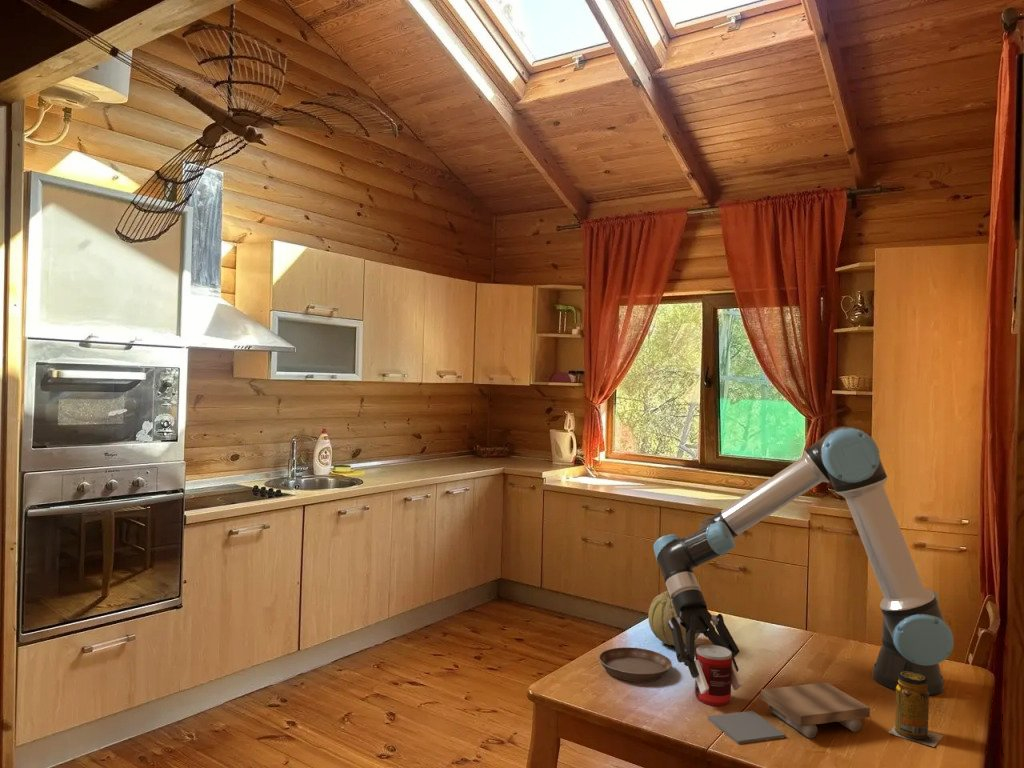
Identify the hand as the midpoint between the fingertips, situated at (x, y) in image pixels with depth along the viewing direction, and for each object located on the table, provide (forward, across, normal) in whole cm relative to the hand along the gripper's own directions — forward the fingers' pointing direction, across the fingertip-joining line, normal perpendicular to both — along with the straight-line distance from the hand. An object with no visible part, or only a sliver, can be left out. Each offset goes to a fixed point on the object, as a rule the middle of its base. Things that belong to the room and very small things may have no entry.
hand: (721, 689), depth 164 cm
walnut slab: (+11, -15, +6) cm, 19 cm away
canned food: (0, 0, -5) cm, 5 cm away
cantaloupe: (-23, -9, -28) cm, 38 cm away
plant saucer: (-13, +10, -19) cm, 25 cm away
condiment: (+18, -32, +12) cm, 39 cm away
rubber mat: (+10, +1, +5) cm, 11 cm away
